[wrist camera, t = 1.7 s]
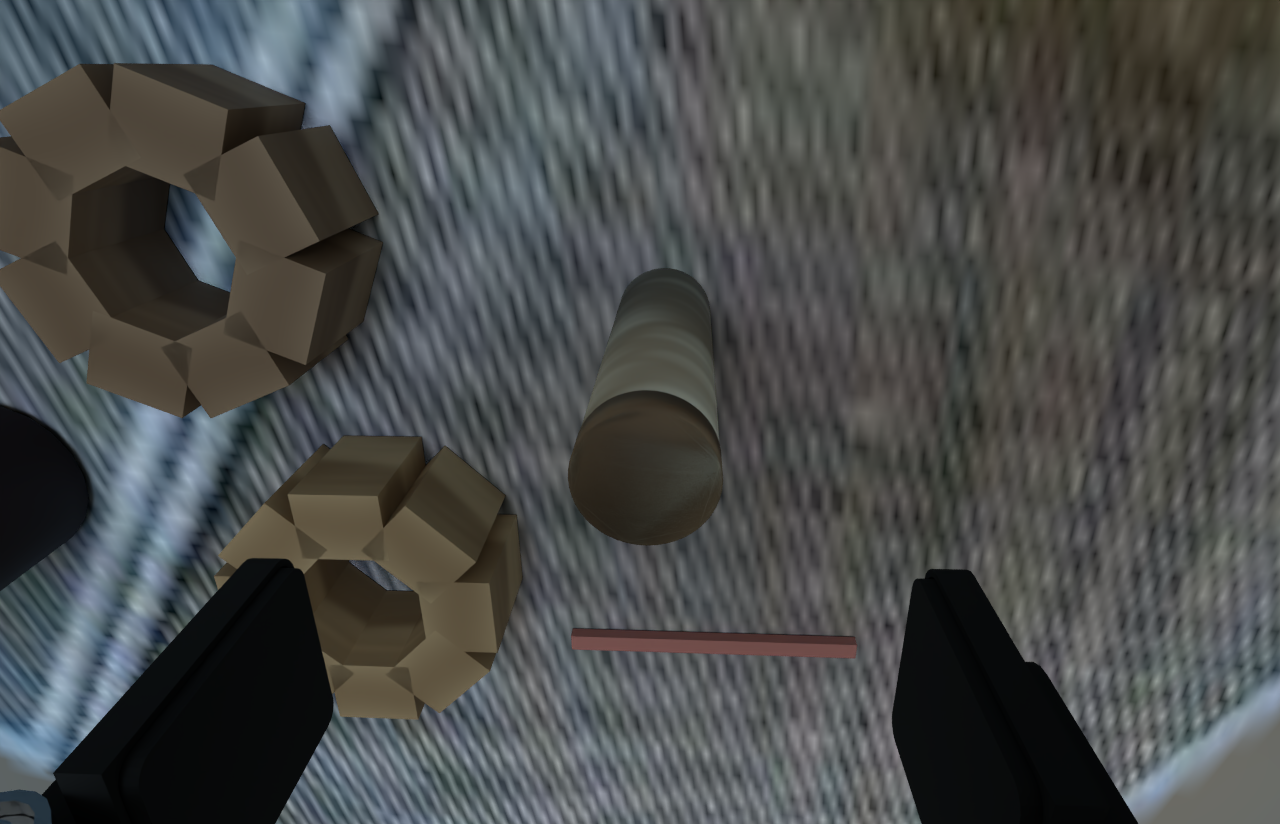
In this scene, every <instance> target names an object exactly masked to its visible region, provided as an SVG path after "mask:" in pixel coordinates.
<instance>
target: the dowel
mask: <svg viewBox="0 0 1280 824" xmlns="http://www.w3.org/2000/svg"><path fill="white" fill-rule="evenodd" d="M568 482H569V488H570V492H571V495H572V498H573V500H574V502H575V505H576V506H577V508H578V509H579V511H580V513H581V514H582V515H583V516H584V517H585V519H586V520H587V521H588V522H589V523H590V524H592V525H593V526H594V527H595V528H597V529H598V530H599V531H601V532H602V533H604V534H606V535H608V536H610V537H612V538H614V539H616V540H619V541H623V542H626V543H631V544H636V545H659V544H666V543H670V542H673V541H676V540H679V539H681V538H684V537H686V536H687V535H689V534H691V533H693V532H694V531H695V530H697V529H698V528H700V527H701V526H702V525H703V524H704V523H705V522H706V521H707V520H708V518H709V517H710V516H711V515H712V513H713V511H714V510H715V508H716V506H717V504H718V502H719V499H720V496H721V492H722V485H723V473H722V459H721V449H720V443H719V430H718V416H717V402H716V388H715V374H714V360H713V345H712V331H711V317H710V306H709V301H708V298H707V295H706V293H705V291H704V290H703V288H702V287H701V285H700V284H699V283H698V282H697V281H696V280H695V279H694V278H692V277H691V276H689V275H688V274H686V273H684V272H681V271H678V270H675V269H668V268H661V269H654V270H651V271H648V272H645V273H643V274H641V275H640V276H638V277H637V278H636V279H634V280H633V281H632V282H631V283H630V285H629V286H628V287H627V289H626V290H625V292H624V294H623V296H622V299H621V302H620V305H619V309H618V312H617V315H616V318H615V321H614V325H613V328H612V331H611V334H610V337H609V340H608V344H607V347H606V350H605V353H604V356H603V360H602V363H601V366H600V369H599V372H598V376H597V379H596V382H595V385H594V388H593V391H592V395H591V398H590V401H589V404H588V407H587V411H586V414H585V417H584V420H583V423H582V427H581V429H580V431H579V433H578V436H577V439H576V443H575V446H574V449H573V452H572V455H571V458H570V462H569V468H568Z"/></svg>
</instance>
